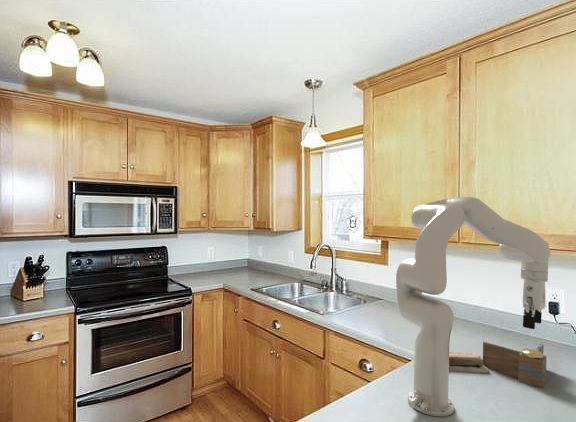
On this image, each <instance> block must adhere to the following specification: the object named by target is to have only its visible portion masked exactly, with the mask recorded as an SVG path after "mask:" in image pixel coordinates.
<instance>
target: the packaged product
mask: <svg viewBox="0 0 576 422" xmlns="http://www.w3.org/2000/svg"><path fill="white" fill-rule="evenodd" d="M450 371H452V372H463V373H465V372H466V373H480V374H481V373H482V374H483V373H484V374H489V373H490V368H488V367H485V366H484V365H483V357H481V355H478V354H476V353H473V352H472V353H470V352H457V351H449V372H450Z"/></svg>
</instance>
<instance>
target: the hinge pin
mask: <svg viewBox="0 0 576 422" xmlns="http://www.w3.org/2000/svg"><path fill="white" fill-rule="evenodd" d="M521 352H522V354H523V355H524V356H526V357H529V358H533V359H543V355H544V352H543V353H542V352H540V351H537V350H536V349H533V348H522V349H521Z"/></svg>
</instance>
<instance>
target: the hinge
mask: <svg viewBox="0 0 576 422" xmlns="http://www.w3.org/2000/svg"><path fill="white" fill-rule="evenodd" d="M535 350H537V351H540V352H542V353H543V359H533V358H529V357H526V356H524V355H523V354H522V351H520V350H516V349H513V348H508V347H505V346H501V345H498V344H494V343H490V342H487V341H483V342H482V360H483V365H484V366H485V367H486V368H488V369H491V370H495V371H498V372H500V373H504V374H507V375H510V376H512V377H516V378H517V380H518V382H520V383H521V382H522V383H524V384H528V385H529V386H533V387H537V388H539V389H543V388H544V386H545V384H546V383H547V358H548V357H547V355H545V354H544V343H540V344H539V345H538V347H537V348H536V349H535Z"/></svg>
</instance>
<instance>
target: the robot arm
mask: <svg viewBox="0 0 576 422" xmlns="http://www.w3.org/2000/svg"><path fill="white" fill-rule="evenodd" d="M410 219H411V223H412V225H413V226H414V227H415V228H416V229H418V230H420V231H421V232H420V233H419V235H418V236H417V238H416V241H415V245H414V246H415V247H414V248H415V249H414V250H415V251H414V258H406V259H404V260H403V261H401V262H400V264H398V267H397V270H396V274H395V275H396V276H395V283H396V284H395V285H396V289H395V290H396V302H397V303H396V304H397V310H398V313H399V315H400V316H401V317H402V318H403V319H404V320H406V321H407V322H410V323H412V324H414V325H416V326H417V327H420V330H419V331H418V332H419V333H418V334H417V336H416V337H415V340H414V354H413V355H414V360H413V361H414V363H413V365H414V366H413V390H412V391H409V393H408V395H407V396H408V397H407V400H408V405H409V407H410V408H412V409H415V410H417V411H418V412H420V413H423V414H425V415H427V416H434V417H441V418H442V417H448V416H450V415H452V414H453V413H454V411H455V406H454V403H453V401H452V400H451V399H450V398H449V379H450V377H449V376H450V374H449V372H450V371H449V352H450V341H451V334H452V330H453V326H454V320H455V314H454V311H453V309H452V308H451V306H450V305H449V304H447V303H446V302H444V301H443V300H441V299H438V298H435V297H432V296H430V295H433V296H436V295H437V296H439V295H441V294H442V293H444V292H445V290H446V289H447V280H448V279H447V278H448V277H447V273H448V272H447V247H448V244H449V242H450V240H451V238H452V237H453V236H454V235H455V234H456V233H457V232H458V231H459V229H461V227H462V226H463V225H465V226H467V227H468V228H470V229H471V230H472V231H473V232H474V233H476V235H477V234H478V235H479V236H480V237H481V238H482V239H484V240H486V241H488V242H491V243H494V244H498V245H499V246H498V251H499V253H500V256H501V257H503V258H505V259H507V260H511V261H517V262H521V263H520V265H521V266H520V279H521V280H523V288H522V289H523V290H522V307H523V308H524V309H523V315H522V327H523V328H526V329H531V330H535V329H536V324H542V313H543V312H542V311H543V310H544V309H545V308H546V283H547V282H548V281H549V278H548V277H549V259H550V257H551V249H550V244H549V242H548V241H547V240H545V239H544V238H542V237H541V236H540V235H539V234H537V233H536V232H534V231H533V230H531V229H529V228H527V227H524V226H522V225H519V224H517V223H515V222H512V221H509V220H507V219H504V218H503V217H502V216H501V215H500V214H498V213H497V212H495V211H494V210H493V208H491V207H490V206H489V205H487V204H486V203H485V202H483V201H482V200H481V199H479V198H477V197H473V196H462V197H461V196H460V197H447V198H443V199H440V200H435V201H431V202H427V203H424V204H420V205H418V206H417V207H415V208H414V210H413V211H412V213H411V216H410ZM423 293H424V294H423ZM425 294H427V295H425ZM428 295H429V296H428Z"/></svg>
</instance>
